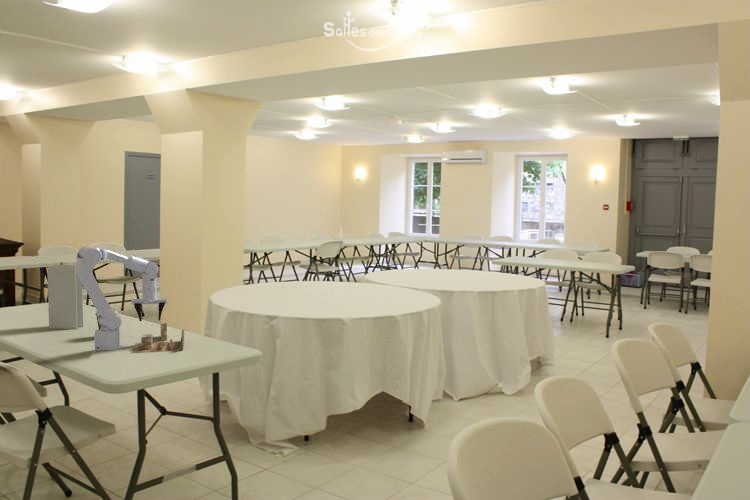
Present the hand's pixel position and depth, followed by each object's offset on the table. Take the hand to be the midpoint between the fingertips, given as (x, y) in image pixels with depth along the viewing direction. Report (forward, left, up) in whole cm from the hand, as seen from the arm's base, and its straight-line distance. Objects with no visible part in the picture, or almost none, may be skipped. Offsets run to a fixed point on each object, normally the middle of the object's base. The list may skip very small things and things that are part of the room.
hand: (150, 320), depth 271 cm
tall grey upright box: (-42, +46, -11) cm, 63 cm away
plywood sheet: (+5, +7, -10) cm, 13 cm away
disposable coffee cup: (-20, +20, -11) cm, 30 cm away
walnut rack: (+4, -10, -10) cm, 15 cm away
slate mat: (+5, +7, -10) cm, 13 cm away
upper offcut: (0, -10, -7) cm, 12 cm away
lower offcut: (0, -10, -9) cm, 14 cm away
